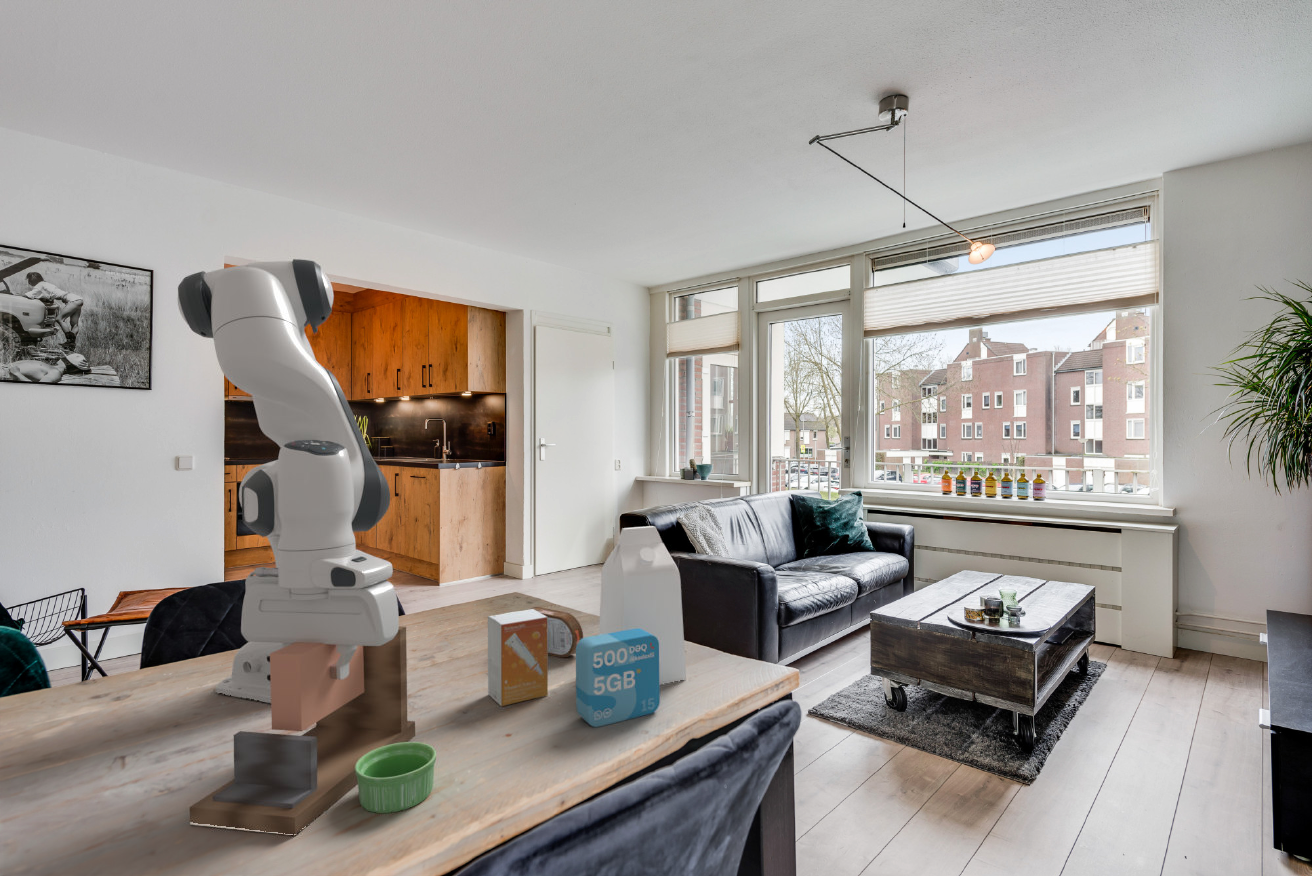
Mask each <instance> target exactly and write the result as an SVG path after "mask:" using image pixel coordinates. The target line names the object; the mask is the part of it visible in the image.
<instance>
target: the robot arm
mask: <svg viewBox="0 0 1312 876" xmlns="http://www.w3.org/2000/svg"><path fill="white" fill-rule="evenodd" d="M177 293H178V294H177V307H178V310H179V313H180V315H181V317H182V318H183V321H184V322H186V324H187V325H188V327H189V328H190V330H191V331H192V332H193V333H195V334H197V335H199V336H200V337H202V338H206V339H213V344H214V349H215V350H214V351H215V354H216V358H217V361H218V365H219V367H220V369H221V372H222V373H223V375H224V376H225V378H226V379H227V380H228V381H229V382H230V383H231V384H232V385H234V386H235V387H237V388H238V389H240V390H241V391H243V392H244V393H247V394H248V395H251V397H252V401H253V405H254V409H255V413H256V418H257V421H258V426H259V428H260V430H261V432H262V433H263V435H265V436H266V437H268V438H269V439H270V440H272V441H273V442H274V443H276V444H277V445H278V446H279V448H280V449H279V451H278V452H279V454H278V458H277V459H276V460H273V461H269V462H267V463H263V464H261V465H260V464H259V465H258V466H255V467H254V468H252V469H250V470H249V471H248V472H247V473H246V474H245V475H244V477H243V479H242V481H241V483H240V485H239V491H238V498H239V499H238V500H239V503H240V507H241V514H242V515H241V517H242V522H243V524H244V525H245V526H246V527H247V528H248V529H250V531H252V532H253V533H255V534H256V535H258V536H260V537H261V538H267V539H268V542H269V544H270V547H271V549H272V553H273V555H274V561H275V562H274V563H275V567H270V568H269V567H265V566H261V567H256V568H255V569H254V570H253V571H251V572H250V573H249V575H248V576H247V577H246V578H245V583H244V584H245V592H244V593H245V594H244V597H243V603H242V608H241V609H242V610H241V622H240V623H241V625H240V633H241V635H242V637H243V638H244V639H245V641H247V643H246V644H244V645H242V646H241V647H240V648H239V649H238V651H237V652H236V654H235V656H234V658H233V663H232V668H231V669H232V670H231V675H229V676H227V677H226V678H224V679H222V680H221V681H219V683H217V685H216V686H215V691H214V692H215V693H216V692H217V693H216V694H219V693H223V694H222V695H224V694H225V696H230V695H231V696H230V697H236V698H241V697H242V699H246V698H250V699H249V700H251V699H254V700H253V701H257V700H260V701H259V702H263V703H267V704H271V678H270V653H272V652H275V651H277V650H279V649H282V648H284V647H286V646H289V645H291V644H293V643H295V642H304V643H325V644H330V645H337V653H341V655H340V657H339V659H338V661H337V663H335V664H333V665H331V666H330V672H331V674H330V678H331V679H340V680H342V679H344V678H346V677H347V676H348V675H349V662H350V660H351V659H352V657H353V655H354V653H355V651H356V649H357V646H381V645H383V644H385V643H387V642H389V641H391V640H392V639H393V638H394V637H395V636H396V634H397V632H398V629H399V625H400V620H399V604H398V597H397V593H396V590H395V587H394V585H393V584H392V583H391V582H390V581H388V579H390V578H391V577H392V576H393V574H394V573H393V572H394V571H393V564H392V563H391V562H390V561H389V560H386V559H383V558H380V557H376V556H374V555H371V554H369V553H367V552H364V551H362V550H359V549H357V548H356V546H357V543H356V536H355V534H354V533H355V532H357V533H358V532H360V533H361V532H367V531H370V530H372V528H374V527H375V526H376V525H377V524H378V523H379V522H380V521H381V520H382V519H383V517H384V516H385V515H386V514H387V511H388V510H389V507H390V503H391V492H390V491H391V490H390V487H389V486H390V485H389V483H388V481H387V479H386V477H385V475H384V473H383V471H382V470H381V468H380V467H379V466H378V464H377V462H376V461H375V459H374V458H373V456H372V453H371V452H370V450H369V448H368V447H369V446H368V445H367V443H366V440H365V439H364V436H363V434H362V432H361V429H360V427H359V424H358V423H357V421H356V418H355V415H354V413H353V411H352V409H351V406H350V404H349V401H348V400H347V397H346V395H345V393H344V391H343V389H342V386H341V385H340V383H339V381H338V379H337V378H336V376H335V374H333V372H332V371H331V370H329V369H327V368H326V367H325V366H323V365H321V364H320V363H319V362H318V361H317V359H316V357H315V353H314V350H313V348H312V346H311V344H310V341H309V339H308V337H307V335H306V332H305V328H306V327H307V326H308V325H310V327H311V329H312V333H313V335H314V334H316V333H318V327H320V326H321V325H322V324H324V323H325V322H326V321H327V320H328V318H329V317H330V315H331V314H332V311H333V310H332V309H333V308H332V307H333V305H334V297H335V295H334V290H333V285H332V283H331V281H330V279H329V277H328V275H327V274H326V273H325V271H324V270H323V269H322V267H321V265H319V264H318V263H317V262H316V261H314V260H309V259H308V260H307V259H300V258H299V259H296V258H293V259H292V261H290V260H289V261H288V260H287V261H284V260H282V261H280V260H279V261H260V262H259V261H258V262H249V263H248V264H243V265H236V266H231V267H225V268H220V269H216V270H211V271H207V272H206V271H204V270H202V271H199V272H195V273H193V274H190V275H186V276H185V277H184V278H183V279H182V280H181V282H180V283H179V284H178V286H177Z"/></svg>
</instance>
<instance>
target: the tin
mask: <svg viewBox="0 0 1312 876" xmlns="http://www.w3.org/2000/svg"><path fill="white" fill-rule="evenodd" d="M530 609H534V610H536V611H538V612H539V613H541V614H543V615H545V616H546V617H547V634H548V655H549V656H553V657H556V658H563V659H564V658H567V657H570V656H572V655H574V654H575V655H576V646H577V644H578V642H579V641H580V640H581V639H582V638H584V631H583V628H582V626H581V623H580V622H579V620H578V619H577V617H575V616H574V615H573V614H571V613H569V612H568V611H567V612H566V611H561V610H557V609H550V608H546V607H541V606H534V607H531V608H530Z"/></svg>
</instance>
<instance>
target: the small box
mask: <svg viewBox="0 0 1312 876" xmlns="http://www.w3.org/2000/svg"><path fill="white" fill-rule="evenodd" d="M548 660H549V658H548V634H547V617H546V616H545V615H543V614H541V613H539V612H538V611H536V610H534V609H531V608H529V609H524V610H518V611H510V612H505V613H500V614H495V615H488V616H487V687H488V688H487V689H488V690H487V694H488V696H489V697H491V698H492V699H493V700H494V701H495V702H496V703H497V704H498V705H500V707H504V706H508V705H512V704H516V703H520V702H525V701H529V700H533V699H538V698H543V697H544V698H545V697H547V696H548V693H549V689H548V687H549V685H548V680H549V679H548V674H549V673H548V671H549V668H548V667H549V666H548V665H549V664H548V663H549V662H548Z"/></svg>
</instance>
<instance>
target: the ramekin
mask: <svg viewBox="0 0 1312 876" xmlns="http://www.w3.org/2000/svg"><path fill="white" fill-rule="evenodd" d="M436 759H437V751H436V749H435V748H434V747H433V746H432V745H430V744H427V743H424V742H419V741H408V742H402V743H395V744H390V745H387V746H383V747H380V748H377V749H375V750H373V751H370V752H369V753H367V754H365V755H364V756H362V757H361V758H360V759H359V760H358V761H357V763H356V765H355V774H356V776H357V780H358V784H357V786H358V787H357V788H358V797H359V803H360V805H361V807H362V808H363V809H364V810H367V811H368V812H371V813H375V812H376V813H377V814H391V812H392V813H397V812H401V810H402V811H404V810H408V809H410V807H411V808H412V807H415V806H418V804H421V803H422V802H423V801H424V800H426V799H427V798H428V797H429V796H430V795H431V794H432V790H433V787H434V786H433V785H434V774H435V772H434V771H435V763H436ZM376 813H375V814H376Z"/></svg>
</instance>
